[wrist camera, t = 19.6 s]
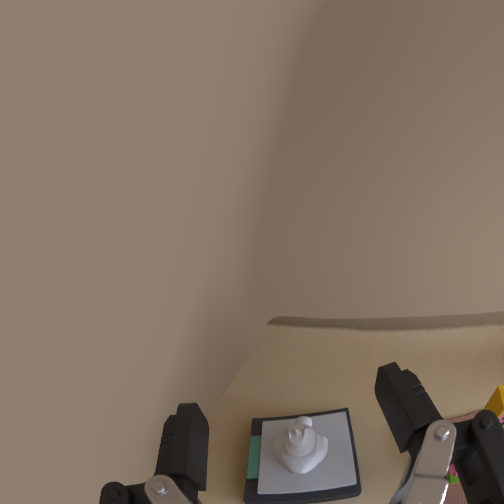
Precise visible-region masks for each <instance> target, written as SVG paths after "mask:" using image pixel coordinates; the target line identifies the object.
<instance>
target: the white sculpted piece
mask: <svg viewBox="0 0 504 504" xmlns="http://www.w3.org/2000/svg"><path fill="white" fill-rule="evenodd" d="M327 450H328V439H327V438H326V437H324V436H321V435H318V434H317V433H315V432H314V429H313V428H312V420H311V418H309V417H307V416H301V417H299V418H297V419H296V422H295V424H294V425H290V426H288V427H287V428H285V430H284V431H283V434H282V436H279V437H278V438H277V439H276V441H275V446H274V453H275V456H276V458H277V460H278V461H279V462H280V463H282V465H283V466H284V467H285V469H286V470H288V471H289V472H290V473H294V474H303V473H307V472H309V471H310V470H312V469H313V468H315V467H316V466H317V464H318V463H320V462H321V461H322V460H323V459H324V458H325V456H326V454H327Z"/></svg>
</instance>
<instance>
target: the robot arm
mask: <svg viewBox="0 0 504 504" xmlns="http://www.w3.org/2000/svg"><path fill="white" fill-rule="evenodd" d="M375 395H376V398H377V401H378V403H379V405H380V407H381V409H382V411H383V414H384V416H385V418H386V420H387V423H388V425H389V427H390V429H391V432H392V434H393V436H394V439H395V441H396V443H397V446H398V448H399V450H400V453H403V452H405V451H409V454H410V457H409V460H408V463H407V465H406V468H405V471H404V473H403V476H402V479H401V481H400V483H399V486H398V488H397V490H396V492H395V494H394V496H393V497H392V499H391V501H390V503H389V504H442V503H443V500H444V497H445V494H446V491H447V488H448V484H449V479H448V478H447V472H448V469H449V465H450V462H453V464H454V467H455V469H456V472H457V475H458V477H459V480H460V483H461V485H462V488H463V491H464V494H465V497H466V500H467V503H468V504H504V428H503V426H502V424H501V423H500V421H499V419H498V417H497V415H496V414H495V413H494V412H493V411H491V410H482V411H480V412H478V413H477V414H476V415H475V417H474V418H473V419H469V420H465V421H461V422H450V421H448V420H445V419H443V418H442V417H441V416H440V414H439V412H438V411H437V409H436V407H435V406H434V404H433V402H432V400H431V399H430V397H429V396H428V394H427V392H425V389H424V387H423V386H422V385H421V383H420V381H419V379H418V378H417V376H416V375H415V374H414V373H412V372H411V371H409V370H408V369H406V370H403V371H401V370H400V368H399V366H398V365H397V363H395V362H392V363H389V364H387V365H384V366H381V367H379V368H378V372H377V378H376V383H375ZM162 434H163V436H162V438H161V444H160V449H159V454H158V460H157V466H156V471H155V474H154V475H153V477H151V478H149V479H148V480H147V482H145V483H141V484H136V485H129V486H124V485H122V484H121V483H119V482H110V483H107V484H106V485H105V486H104V487H103V488H102V491H101V496H100V502H99V504H202V503H201V501H200V500H199V499H198V491H206V478H207V458H208V441H209V425H208V421H207V419H206V418H205V416H204V414H203V413H202V411H201V409H200V408H199V406H198V404H197V403H182V404H179V405H178V408H177V414H176V415H170V416H169V418H168V419H167V421H166V422H165V424H164V428H163V433H162Z"/></svg>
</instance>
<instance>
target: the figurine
mask: <svg viewBox="0 0 504 504" xmlns="http://www.w3.org/2000/svg"><path fill="white" fill-rule="evenodd" d="M484 410H491V411H493V412H494V413H495V414H496V415H497V417H498V419H499V421H500V423H501V424H502V426H503V428H504V384H503V385H500V386H498V387H497V389H496V390H495V392H494V394H493V395H492V397H491V398H490V400H489V402H488V403H487V405H486V406H485V409H484ZM481 411H482V410H481ZM478 412H480V411H477V412H474V413H471V414H467V415H464V416H460V417H456V418H452V419H448V421H450V422H461V421H465V420H469V419H473V418H474V417H475V415H476V414H477V413H478ZM447 478H448V479H449V484H448V488H447V491H446V494H445V497H444V500H443V503H442V504H468V503H467V500H466V497H465V494H464V491H463V488H462V485H461V483H460V480H459V477H458V475H457V472H456V469H455V467H454V464H453V462H450V465H449V469H448V472H447Z"/></svg>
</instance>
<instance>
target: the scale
mask: <svg viewBox="0 0 504 504" xmlns="http://www.w3.org/2000/svg"><path fill="white" fill-rule="evenodd" d="M301 416H307V417H309V418H311V420H312V428H313V429H314V432H315V433H317V434H318V435H321V436H324V437H326V438H327V439H328V450H327V454H326V456H325V458H324V459H323V460H322V461H321V462H320V463H318V464H317V466H316V467H315V468H313V469H312V470H310V471H309V472H307V473H303V474H294V473H290V472H289V471H288V470H286V469H285V467H284V466H283V465H282V463H280V462H279V461H278V460H277V458H276V456H275V453H274V446H275V441H276V439H277V438H278V437H279V436H282V434H283V431H284V430H285V428H287V427H288V426H290V425H294V424H295V422H296V419H297V418H299V417H301ZM360 493H361V483H360V476H359V469H358V462H357V456H356V449H355V443H354V437H353V432H352V426H351V421H350V415H349V410H348V408H343V409H337V410H331V411H325V412H318V413H311V414H303V415H295V416H285V417H272V418H255V419H252V428H251V437H250V446H249V456H248V465H247V475H246V485H245V494H244V502H245V503H246V504H310V503H319V502H327V501H333V500H340V499H345V498H351V497H356V496H359V494H360Z"/></svg>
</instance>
